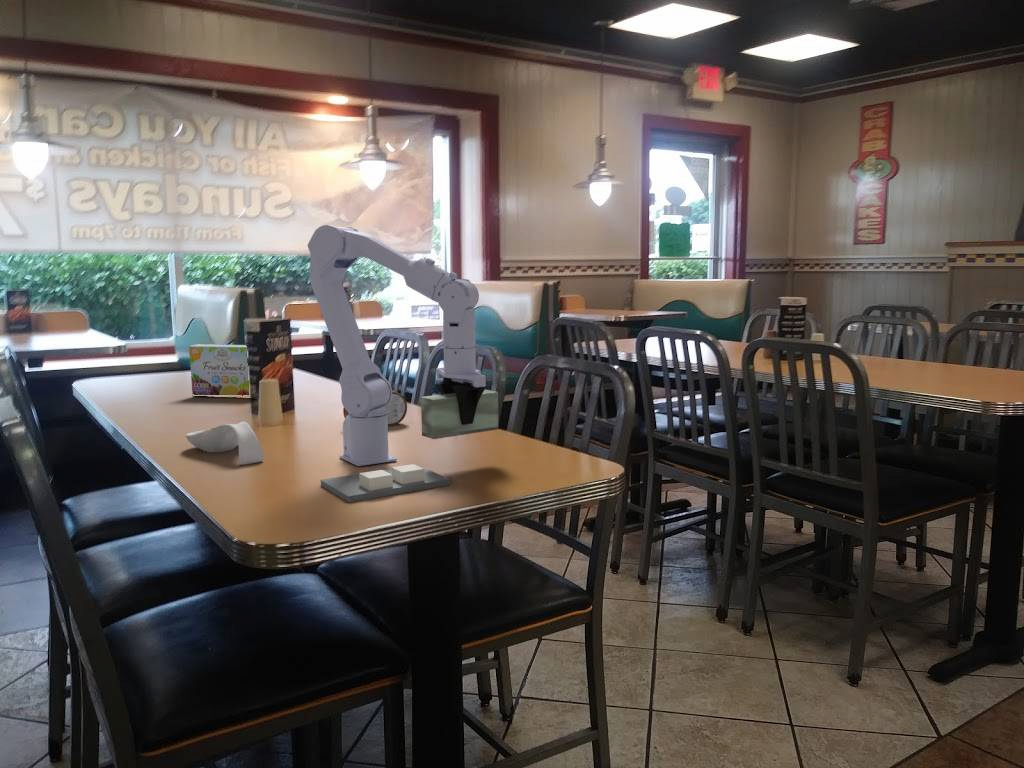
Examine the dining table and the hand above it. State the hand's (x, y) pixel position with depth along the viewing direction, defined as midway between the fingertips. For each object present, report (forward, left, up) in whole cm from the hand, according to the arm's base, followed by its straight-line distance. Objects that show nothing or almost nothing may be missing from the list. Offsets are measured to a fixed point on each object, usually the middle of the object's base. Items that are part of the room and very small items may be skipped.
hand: (460, 421), depth 145 cm
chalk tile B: (+7, -14, -7) cm, 17 cm away
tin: (-44, +3, -9) cm, 45 cm away
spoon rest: (-36, -32, -9) cm, 49 cm away
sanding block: (0, 0, -2) cm, 2 cm away
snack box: (-110, -13, -9) cm, 111 cm away
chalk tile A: (+7, -20, -7) cm, 22 cm away
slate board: (+4, -17, -8) cm, 19 cm away
